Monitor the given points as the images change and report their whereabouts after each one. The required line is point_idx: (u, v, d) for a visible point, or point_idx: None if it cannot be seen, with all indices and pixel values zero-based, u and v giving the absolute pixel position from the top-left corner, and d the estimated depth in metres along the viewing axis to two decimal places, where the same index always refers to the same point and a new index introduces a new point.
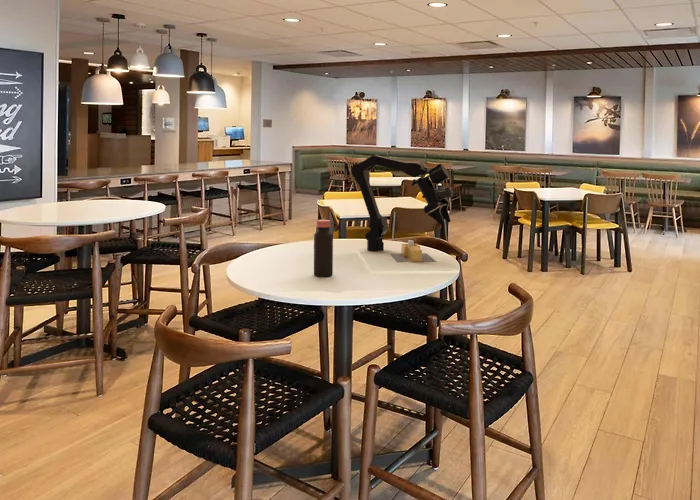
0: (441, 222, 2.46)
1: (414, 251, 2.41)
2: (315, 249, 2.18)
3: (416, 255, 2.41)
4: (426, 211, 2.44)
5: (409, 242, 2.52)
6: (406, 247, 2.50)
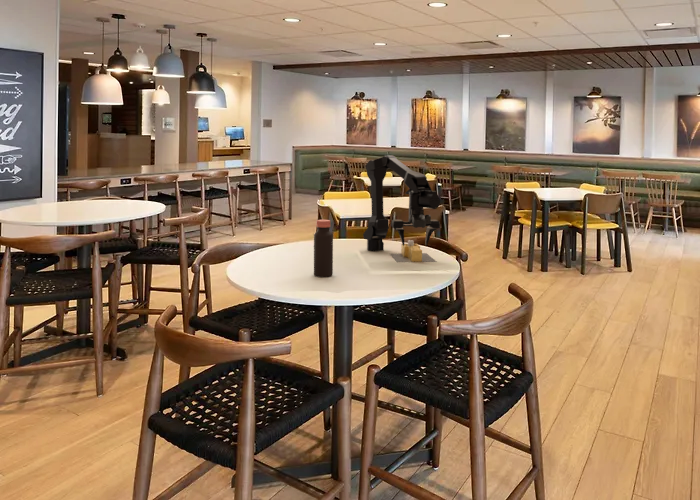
0: (402, 242, 2.44)
1: (414, 251, 2.41)
2: (315, 249, 2.18)
3: (416, 255, 2.41)
4: (391, 224, 2.44)
5: (409, 242, 2.52)
6: (406, 247, 2.50)
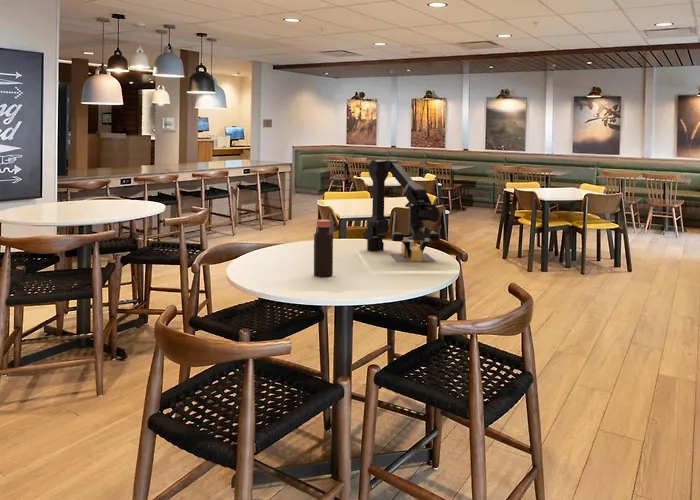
0: None
1: (414, 251, 2.41)
2: (315, 249, 2.18)
3: (416, 255, 2.41)
4: (391, 237, 2.45)
5: None
6: None
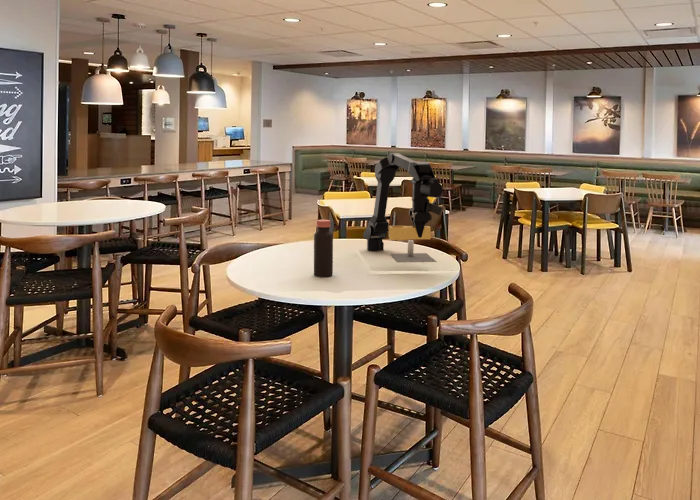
0: (419, 234, 2.31)
1: None
2: (315, 249, 2.18)
3: None
4: (417, 218, 2.24)
5: (409, 242, 2.52)
6: (407, 228, 2.31)
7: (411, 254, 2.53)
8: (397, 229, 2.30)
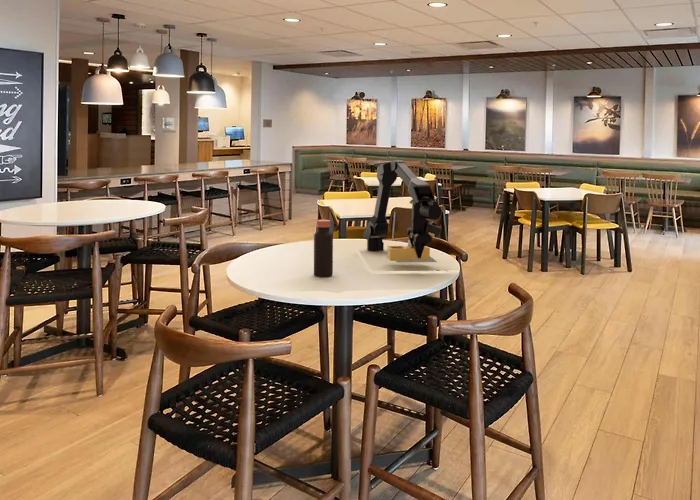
0: (419, 255, 2.32)
1: None
2: (315, 249, 2.18)
3: None
4: (418, 240, 2.24)
5: (409, 242, 2.52)
6: (406, 249, 2.31)
7: None
8: (397, 250, 2.30)
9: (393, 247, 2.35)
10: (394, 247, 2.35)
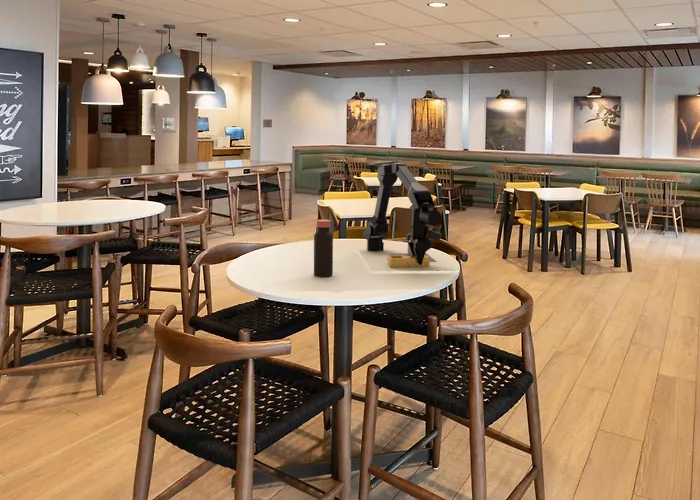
0: (420, 261, 2.31)
1: None
2: (315, 249, 2.18)
3: None
4: (418, 246, 2.24)
5: None
6: None
7: (411, 254, 2.53)
8: (397, 260, 2.31)
9: (393, 256, 2.36)
10: (394, 256, 2.36)
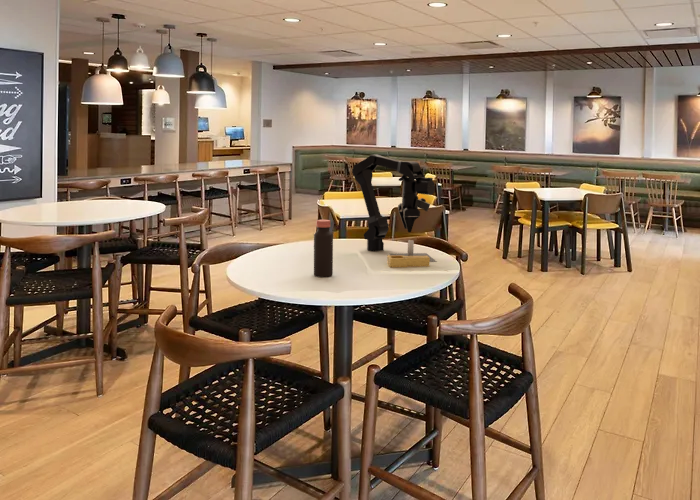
0: (409, 229, 2.47)
1: None
2: (315, 249, 2.18)
3: None
4: (407, 214, 2.42)
5: (409, 242, 2.52)
6: None
7: (411, 254, 2.53)
8: (397, 260, 2.31)
9: (393, 256, 2.36)
10: (394, 256, 2.36)
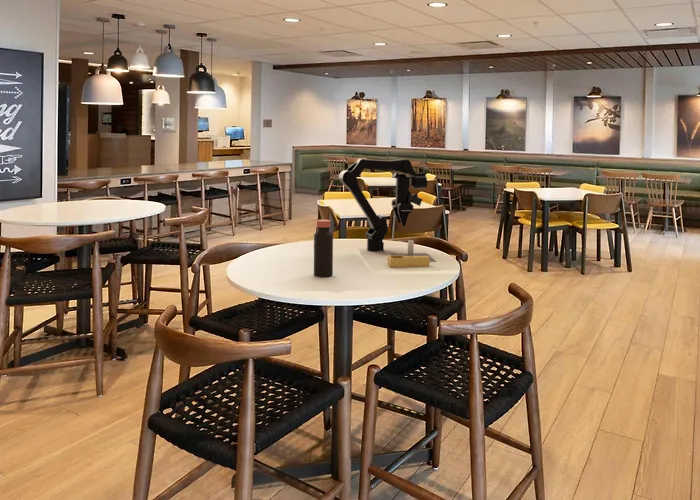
0: (403, 223, 2.61)
1: None
2: (315, 249, 2.18)
3: None
4: (401, 208, 2.56)
5: (409, 242, 2.52)
6: None
7: (411, 254, 2.53)
8: (397, 260, 2.31)
9: (393, 256, 2.36)
10: (394, 256, 2.36)
